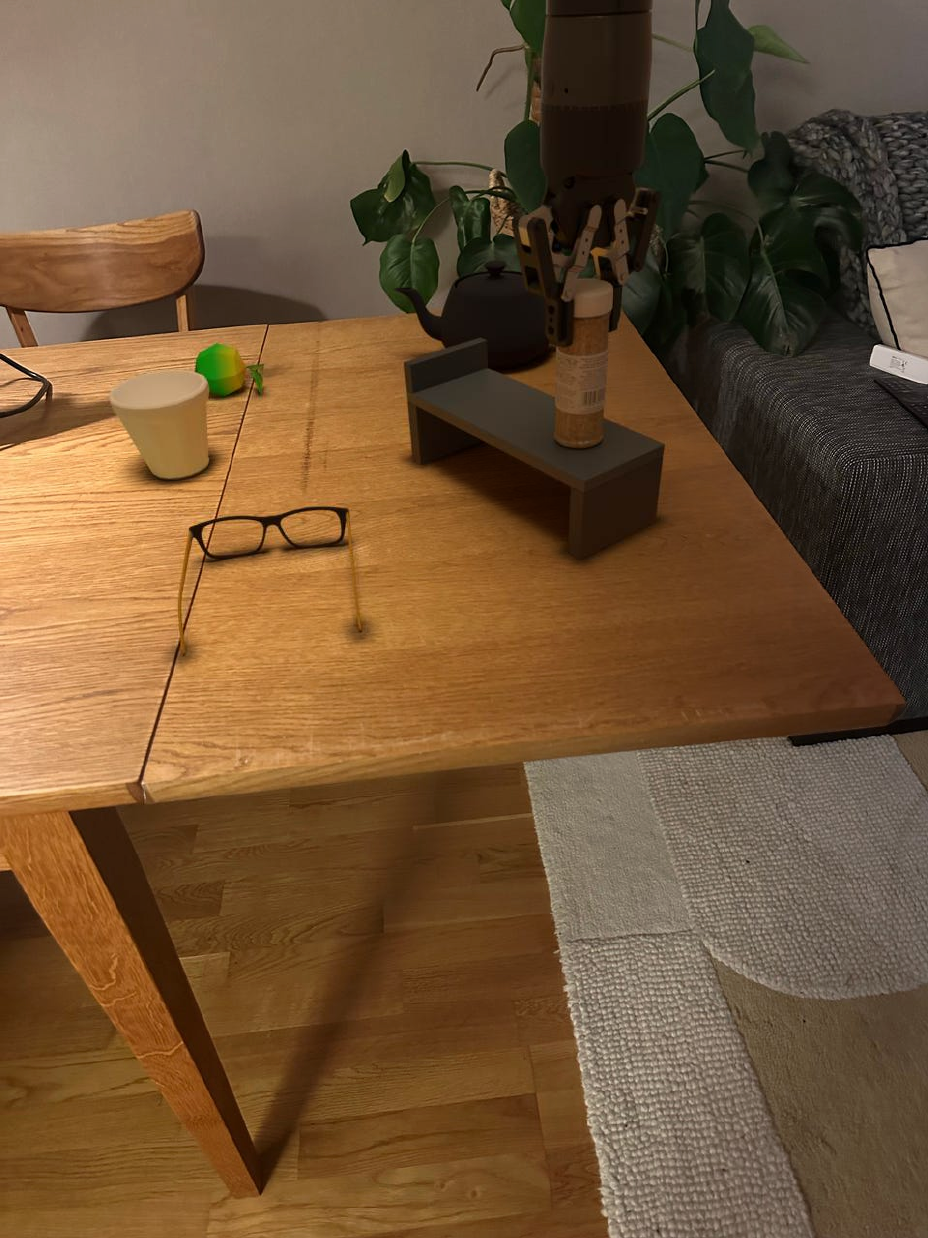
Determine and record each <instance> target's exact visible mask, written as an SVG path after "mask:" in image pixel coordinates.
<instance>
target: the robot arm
mask: <svg viewBox="0 0 928 1238" xmlns="http://www.w3.org/2000/svg"><path fill="white" fill-rule="evenodd" d="M653 2H654V0H545V15H546V17H545V26H544V36H543V43H542V51H541V64H540V65H541V66H540V67H541V69H540V71H541V72H540V75H541V77H540V137H539V139H540V140H539V141H540V143H539V145H540V146H539V147H540V149H539V150H540V151H539V158H540V159H539V164H540V167H541V169H542V171H543V173H544V175H545V178H546V187H545V189H544V194H543V197H542V200H541V206H540V207H538V208H536V209H535V210H533V211H531V212H530V213H529V214H523V213H519V212H518V213H516V214H514V216H513V217H512V219H511V229H512V234H513V239H514V244H515V247H516V253H517V257H518V262H519V268H520V272H522V277H523V282H524V286H525V289H526V291H528V292H531V293H534V294H537V295H540V296H543V297H544V298H545V301H546V310H545V320H546V321H545V325H546V326H545V334H546V337H547V338H548V340H549V342H550V343H549V344H550V345H553V346H555V347H556V346H558V347H561V348H565V347H568V346H571V345H572V343H573V322H574V300H571V299H572V297H573V295H574V291H575V287H576V283H577V279H579V275H580V272H582V271H584V270H585V268H586V266H587V263H588V259H589V256H590V254H591V255H592V258H593V261H594V262H593V263H594V266H595V272H596V277H597V279H599V280H604V281H606V282H608V283H610V284H611V285H612V287H613V304H612V309H611V314H610V316H609V333H612V332H615V331H617V329H618V327H619V326H618V325H619V322H620V318H621V315H622V314H621V313H622V300H623V287H624V285H625V284H626V283H627V281H628V279H629V276H630V275H631V274H632V273H633V272H636V273H640V272H641V271H642V270H643V269H644V267H645V262H646V258H647V254H648V251H649V247H650V244H651V238H652V236H653V231H654V228H655V224H656V219H657V214H658V212H659V208H660V205H661V199H662V195H661V192H660V191H659V190H655V189H652V188H646V187H637V186H636V182H635V177H634V172H637V171H638V170H639V169H640V168H641V167H642V166H643V163H644V158H645V148H646V137H647V136H646V135H647V125H648V124H647V123H648V113H649V112H648V111H649V99H650V86H651V78H652V77H651V76H652V75H651V74H652V63H653V29H652V28H653V26H652V24H653V23H652V19H653V12H652V9H653V4H654V3H653ZM633 238H635V242H634V245H633V246H634V247H633V251H632V253H629V252H630V248H631V247H630V246H631V243H632V239H633ZM563 250H564V251H565V250H566V251H569V252H572V253H571V254H570V255H569V256H568V255H565V254H564V253H563ZM562 269H563V273H562V277H561V282H559V280H560V275H561V272H562Z"/></svg>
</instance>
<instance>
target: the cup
mask: <svg viewBox="0 0 928 1238" xmlns="http://www.w3.org/2000/svg"><path fill="white" fill-rule="evenodd" d="M209 395H210V392H209V386H208V382H207V380H206V379H205V377H204V376H203V375H201V374H198V373H196V372H195V371H193V370H185V369H167V370H156V371H152V372H147V373H142V374H138V375H136V376H133V377H130V378H128V379H125V380H122V381H121V382H119V384H117V385H115V386H113V388H112V389H111V391H110V393H108V396H107V397H108V399H109V403H110V405H111V408H112V411H113V413H114V414H115V415H116V416H117V418H118V419H119V421H120V422H121V425H122V426H123V428H124V429H125V431H126V432H127V435H129V437H130V439H131V440H132V442H133V444H134V446H135V447H136V449H137V450H138V452H139V454H140V455H141V457H142V459H143V461H144V462H145V463H146V466H147V467H148V469H149V471H151V474H152V475H153V476H154V477H156V478H158V479H160V480H165V481H181V480H186V479H190V478H193V477H195V476H197V475H199V474H201V473H203V472H204V471H205V470H206V469H207V468H208V466H209V463H210V458H209V448H208V447H209V445H208V444H209V443H208V414H207V413H208V411H207V404H208V400H209Z"/></svg>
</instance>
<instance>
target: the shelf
mask: <svg viewBox="0 0 928 1238" xmlns="http://www.w3.org/2000/svg"><path fill="white" fill-rule="evenodd" d="M403 371H404V382H405V383H404V384H405V392H406V404H407V406H406V407H407V416H408V426H409V437H410V438H409V439H410V449H411V460H412V461H413V462H415V463H416V464H418V465H419V466H422V465H425V464H427V463H430V462H432V461H435V460H437V459H440V458H442V457H445V456H447V455H450V454H452V453H455V452H458V451H461V450H462V449H465V448H468V447H470V446H473V445H475V444H476V445H477V443H480V442H485V443H487V444H488V445H491V446H493V448H496V449H498V450H500V451H502V452H504V453H506V454H507V455H510V456H511V457H513V458H515V459H517V460H519V461H521V462H523V463H525V464H526V465H528V466H531V467H533V468H534V469H536V470H538V471H540V472H542V473H544V474H546V475H547V476H550V477H552V478H554V479H556V480H557V481H559V482H561V483H563V484H565V485H567V486H569V487H570V500H569V501H570V502H569V520H568V521H569V522H568V541H567V543H568V544H567V554H568V555H570V556H572V557H574V558H576V559H577V560H579V561H581V560H584V559H586V558H588V557H590V556H592V555H593V554H595V553H597V552H599V551H601V550H602V549H603V550H604V549H605V548H607V547H609V546H611V545H613V544H614V543H616V542H619V541H620V540H622V539H624V538H626V537H629V536H630V535H632V534H634V533H636V532H637V531H639V530H641V529H644V528H645V527H647V526H649V525H651V524H653V523H654V522H656V520H657V512H658V505H659V496H660V490H661V488H660V487H661V480H662V473H663V465H664V457H665V450H666V449H665V448H666V444H665V443H664V442H661V441H659V440H657V439H654V438H652V437H649V436H648V435H645V434H642V433H640V432H637V431H636V430H634V429H630V428H628V427H626V426H623V425H622V424H619V423H617V422H615V421H612V420H610V419H607V418H605V417H603V433H604V436H603V439H602V441H601V442H600V443H598V444H596V445H594V446H592V447H588V448H571V447H566V446H563V445H561V444H559V443H558V442H557V441H556V440H555V439H554V431H555V407H556V406H555V395H552V394H549V393H547V392H545V391H542V390H540V389H538V388H535V387H533V386H531V385H529V384H526V383H523V382H521V381H519V380H517V379H514V378H513V377H509V376H508V375H506V374H503V373H500V372H498V371H497V370H496V371H495V370H494V369H490V368H488V357H487V340H485V339H482V338H478V339H474V340H471V341H468V342H465V343H462V344H459V345H456V346H452V347H449V348H443V349H440V350H437V351H433V352H431V353H428V354H424V355H422V356H418V357H415V358H412V359H409V360H406V361H405V360H404V361H403Z"/></svg>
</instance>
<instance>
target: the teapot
mask: <svg viewBox="0 0 928 1238" xmlns="http://www.w3.org/2000/svg"><path fill="white" fill-rule="evenodd" d="M506 267H507V263H506V262H505V261H504V260H499V259H496V260H489V261H486V262H484V268H485V269H486V270H483V271H478V272H472V273H469V274H465V275H462V276H460V277H458V278H457V279H455V280H454V281H453V282H452V284H451V287H450V289H449V292H448V294H447V297H446V299H445V302H444V304H443V308H442V311H441V315H440V316H439V315H435V314H433V313H431V311H429V309H428V308H427V306H426V304H425V301H424V298H423V296H422V295H421V293H420V292H419V291H418V289H415V288H414V287H408V286H407V287H405V286H404V287H402V286H401V287H394V288H393V290H394V291H395V292H398V293H401V294H403V295H404V296H405V297H406V298H408V299H409V301H410V303H411V304H412V306H413V309H414V311H415V313H416V316H417V319H418V322H419V325H420V326H421V329H422V330H423V331H424V333H426V335H428V336H429V337H430V338H431V339H434V340H435V341H438V342H441V344H442V346H443V348H444V349H446V348H449V347H452V346H456V345H459V344H462V343H465V342H468V341H471V340H474V339H478V338H482V339H485V340H487V357H488V368H489V369H491V370H495V369H497V370H498V369H507V368H508V369H509V368H514V367H518V366H522V365H525V364H528V363H530V362H532V361H534V360H535V359H537V357H538V356H539V355H540V354H541V353H542V352H544V351H545V349H547V347H548V346H549V345H550V344H551V343H550V342H549V340H548V338H547V337H546V334H545V326H546V325H545V321H546V320H545V310H546V301H545V298H544V297H543V296H540V295H537V294H534V293H531V292H528V291H526V289H525V286H524V282H523V277H522V272H521V271H517V270H504V269H506Z"/></svg>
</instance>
